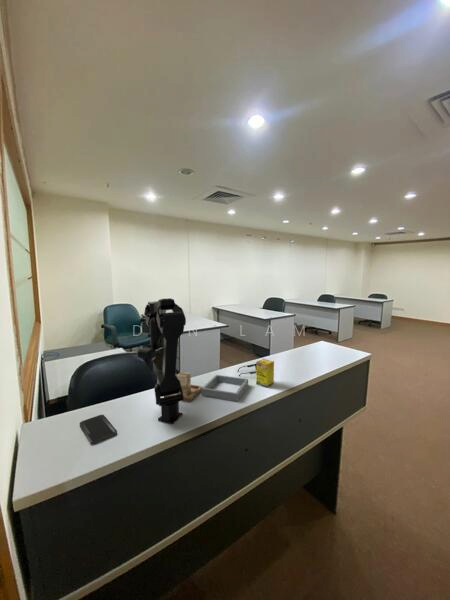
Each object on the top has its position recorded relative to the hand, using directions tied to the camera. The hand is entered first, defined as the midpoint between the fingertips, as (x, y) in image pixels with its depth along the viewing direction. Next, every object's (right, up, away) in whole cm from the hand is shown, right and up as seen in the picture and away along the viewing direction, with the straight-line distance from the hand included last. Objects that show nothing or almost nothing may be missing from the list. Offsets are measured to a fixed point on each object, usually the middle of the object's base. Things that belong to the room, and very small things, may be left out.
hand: (158, 367), depth 104 cm
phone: (-14, -15, -22) cm, 30 cm away
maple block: (+10, -11, +2) cm, 15 cm away
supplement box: (+47, -11, +11) cm, 49 cm away
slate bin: (+28, -11, +5) cm, 31 cm away
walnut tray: (+10, -12, +3) cm, 16 cm away
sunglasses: (+41, -10, +24) cm, 48 cm away
